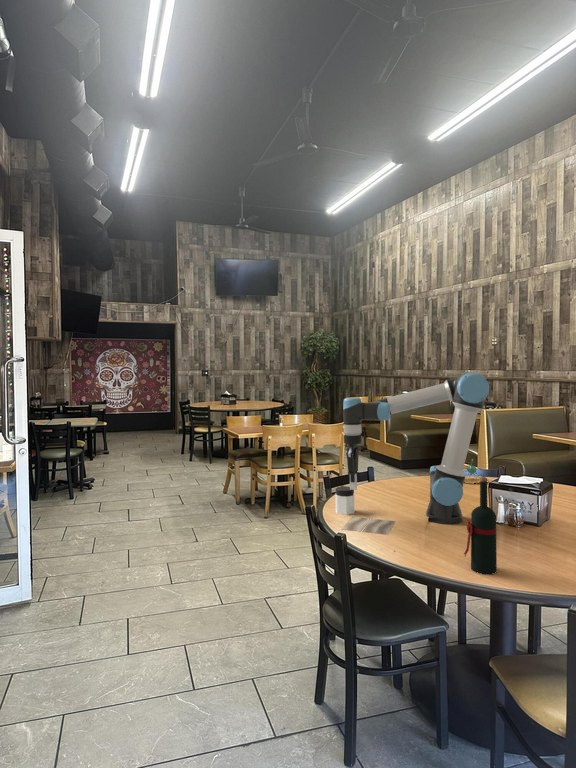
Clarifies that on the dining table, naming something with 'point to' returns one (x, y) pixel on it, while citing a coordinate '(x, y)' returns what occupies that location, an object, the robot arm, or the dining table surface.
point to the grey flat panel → (383, 528)
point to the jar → (344, 500)
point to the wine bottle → (482, 535)
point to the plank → (356, 524)
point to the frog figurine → (472, 470)
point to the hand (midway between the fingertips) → (353, 489)
